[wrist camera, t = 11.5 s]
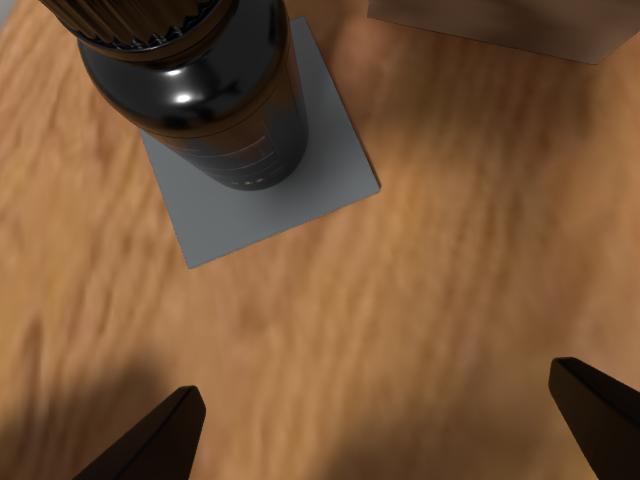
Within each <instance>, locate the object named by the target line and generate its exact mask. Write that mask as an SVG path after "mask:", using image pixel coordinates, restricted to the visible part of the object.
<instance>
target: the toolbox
mask: <svg viewBox="0 0 640 480" xmlns="http://www.w3.org/2000/svg"><path fill="white" fill-rule="evenodd" d="M367 17H369V18H374V19H379V20H383V21H388V22H393V23H398V24H402V25H407V26H412V27H417V28H422V29H426V30H431V31H436V32H441V33H445V34H450V35H455V36H460V37H464V38H469V39H474V40H479V41H484V42H488V43H493V44H498V45H503V46H507V47H512V48H517V49H522V50H527V51H531V52H536V53H541V54H546V55H550V56H555V57H560V58H565V59H570V60H574V61H579V62H584V63H589V64H593V65H596V64H598V63H599V62H600V61H602V60H603V59H604V58H605V57H607V56H608V55H609V54H611V53H612V52H613V51H614V50H616V49H617V48H618V47H620V46H621V45H622V44H623V43H625V42H626V41H627V40H629V39H630V38H631V37H632V36H634V35H635V34H636V33H638V32H639V31H640V0H369V7H368V14H367Z"/></svg>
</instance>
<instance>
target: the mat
mask: <svg viewBox="0 0 640 480" xmlns="http://www.w3.org/2000/svg"><path fill="white" fill-rule="evenodd" d="M289 22H290V27H291V32H292V38H293V43H294V48H295V54H296V59H297V64H298V70H299V75H300V80H301V86H302V91H303V97H304V102H305V107H306V113H307V119H308V127H309V136H308V144H307V148H306V151H305V154H304V156H303V158H302V160H301V162H300V164H299V165H298V167H297V168H296V169H295V170H294V172H293V173H292V174H291V175H290V176H288V177H287V178H286V179H285V180H283V181H282V182H280V183H279V184H277V185H275V186H273V187H270V188H267V189H263V190H258V191H240V190H235V189H232V188H229V187H226V186H224V185H222V184H220V183H219V182H217V181H215V180H214V179H212V178H211V177H209V176H208V175H206V174H205V173H203V172H202V171H200V170H199V169H198V168H196V167H195V166H193V165H192V164H190V163H189V162H188V161H186V160H185V159H183V158H182V157H180V156H179V155H177V154H176V153H175V152H173V151H172V150H170V149H169V148H167V147H166V146H165V145H163V144H162V143H160V142H159V141H157V140H156V139H154V138H153V137H152V136H150V135H149V134H147V133H146V132H144V131H143V130H142V129H140V128H139V127H138V128H139V131H140V134H141V137H142V139H143V142H144V145H145V148H146V151H147V154H148V156H149V159H150V162H151V165H152V168H153V171H154V174H155V176H156V179H157V182H158V185H159V188H160V191H161V193H162V196H163V199H164V202H165V205H166V208H167V210H168V213H169V216H170V219H171V222H172V225H173V227H174V230H175V233H176V236H177V239H178V242H179V244H180V247H181V250H182V253H183V256H184V259H185V261H186V264H187V267H188V269H193V268H195V267H197V266H200V265H202V264H205V263H207V262H210V261H212V260H215V259H217V258H220V257H222V256H224V255H227V254H229V253H232V252H234V251H237V250H239V249H242V248H244V247H247V246H249V245H251V244H254V243H256V242H259V241H261V240H264V239H266V238H269V237H271V236H273V235H276V234H278V233H281V232H283V231H286V230H288V229H291V228H293V227H296V226H298V225H300V224H303V223H305V222H308V221H310V220H313V219H315V218H318V217H320V216H323V215H325V214H327V213H330V212H332V211H335V210H337V209H340V208H342V207H345V206H347V205H350V204H352V203H354V202H357V201H359V200H362V199H364V198H367V197H369V196H372V195H374V194H377V193H379V192H380V191H381V190H380V188H379V186H378V184H377V181H376V179H375V177H374V175H373V172H372V170H371V168H370V165H369V163H368V161H367V159H366V156H365V154H364V152H363V149H362V147H361V145H360V143H359V140H358V138H357V136H356V134H355V131H354V129H353V127H352V124H351V122H350V120H349V118H348V115H347V113H346V111H345V108H344V106H343V104H342V102H341V99H340V97H339V95H338V93H337V90H336V88H335V86H334V83H333V81H332V79H331V77H330V74H329V72H328V70H327V67H326V65H325V63H324V61H323V58H322V56H321V54H320V51H319V49H318V47H317V45H316V42H315V40H314V38H313V36H312V33H311V31H310V29H309V26H308V24H307V22H306V20H305V17H304V16H301V17H299V18H297V19H294V20H292V21H289Z"/></svg>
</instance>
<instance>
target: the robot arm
mask: <svg viewBox="0 0 640 480" xmlns="http://www.w3.org/2000/svg"><path fill="white" fill-rule="evenodd" d="M548 385H549V390H550V393H551V395H552V397H553V399H554V400H555V402H556V404H557V406H558V408H559V410H560V412H561V413H562V415H563V417H564V419H565V421H566V423H567V425H568V426H569V428H570V430H571V432H572V434H573V436H574V438H575V439H576V441H577V443H578V445H579V447H580V449H581V450H582V452H583V454H584V456H585V458H586V459H587V461H588V463H589V465H590V466H591V468H592V470H593V471H594V473H595V474H596V476H597V478H598V479H599V480H640V392H638V391H637V390H635V389H633V388H631V387H629V386H627V385H625V384H624V383H622V382H620V381H618V380H616V379H614V378H612V377H611V376H609V375H607V374H605V373H603V372H601V371H599V370H597V369H596V368H594V367H592V366H590V365H588V364H586V363H584V362H583V361H581V360H579V359H577V358H574V357H560V358H554V359H553V360H552V362H551V368H550V375H549V382H548ZM205 415H206V407H205V404H204V401H203V399H202V397H201V395H200V392H199V390H198V388H197V387H196V386H194V385H192V386H182V387H179V388H178V389H177V390H176V391H174V392H173V393H172V394H171V395H170V396H169V397H167V398H166V399H165V400H164V401H163V402H162V403H160V404H159V405H158V406H157V407H156V408H155V409H153V410H152V411H151V412H150V413H149V414H148V415H146V416H145V417H144V418H143V419H142V420H141V421H139V422H138V423H137V424H136V425H135V426H133V427H132V428H131V429H130V430H129V431H128V432H126V433H125V434H124V435H123V436H122V437H121V438H119V439H118V440H117V441H116V442H115V443H114V444H112V445H111V446H110V447H109V448H108V449H107V450H105V451H104V452H103V453H102V454H101V455H100V456H98V457H97V458H96V459H95V460H94V461H93V462H91V463H90V464H89V465H88V466H87V467H86V468H84V469H83V470H82V471H81V472H80V473H79V474H77V475H76V476H75V477H74V478H73V479H72V480H188V479H189V476H190V472H191V469H192V465H193V461H194V458H195V454H196V450H197V446H198V442H199V439H200V435H201V431H202V427H203V423H204V420H205Z"/></svg>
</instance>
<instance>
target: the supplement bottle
mask: <svg viewBox="0 0 640 480" xmlns="http://www.w3.org/2000/svg"><path fill="white" fill-rule="evenodd" d="M39 1H40V2H41V3H42V4H44V5H45V6H46V7H47V8H48V9H49V10H50V11H51V12H53V13H54V14H55V16H56V17H57V19H58V20H59V21H60V22H61V23H62V24H63V26H65V27H66V28H67V29H68V30H69V31H70V32H71V33H72V34H73V35H74V36H76V37H77V42H78V47H79V51H80V54H81V58H82V61H83V63H84V66H85V68H86V71H87V73H88V75H89V77H90V78H91V80H92V82H93V84H94V85H95V87H96V88H97V90H98V91H99V93H100V94H101V95H102V96H103V98H104V99H105V100H106V101H107V102H108V103H109V104H110V105H111V106H112V107H113V108H114V109H115V110H116V111H118V112H119V113H120V114H121V115H123V116H124V117H125V118H126V119H128V120H129V121H130V122H132V123H133V124H134V125H136V126H137V127H139V128H140V129H142V130H143V131H144V132H146V133H147V134H149V135H150V136H152V137H153V138H154V139H156V140H157V141H159V142H160V143H162V144H163V145H165V146H166V147H167V148H169V149H170V150H172V151H173V152H175V153H176V154H177V155H179V156H180V157H182V158H183V159H185V160H186V161H188V162H189V163H190V164H192V165H193V166H195V167H196V168H198V169H199V170H200V171H202V172H203V173H205V174H206V175H208V176H209V177H211V178H212V179H214V180H215V181H217V182H219V183H220V184H222V185H224V186H226V187H229V188H232V189H235V190H240V191H258V190H263V189H267V188H270V187H273V186H275V185H277V184H279V183H280V182H282V181H283V180H285V179H286V178H287V177H288V176H290V175H291V174H292V173H293V172H294V170H295V169H296V168H297V167H298V165H299V164H300V162H301V160H302V158H303V156H304V154H305V151H306V148H307V144H308V136H309V127H308V119H307V113H306V107H305V102H304V97H303V91H302V86H301V80H300V75H299V70H298V64H297V59H296V54H295V48H294V43H293V38H292V32H291V27H290V22H289V17H288V13H287V9H286V5H285V1H284V0H39Z"/></svg>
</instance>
